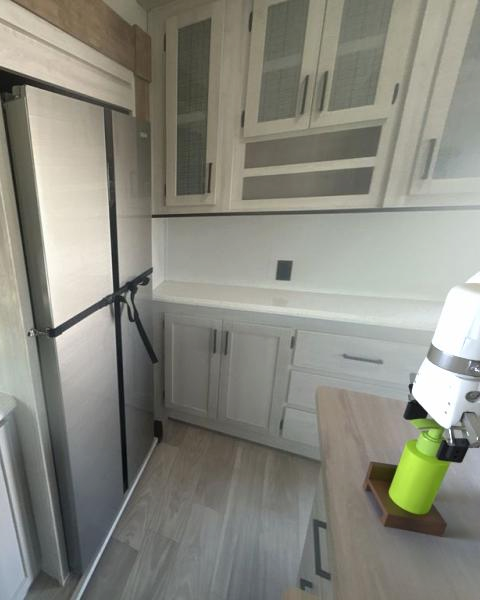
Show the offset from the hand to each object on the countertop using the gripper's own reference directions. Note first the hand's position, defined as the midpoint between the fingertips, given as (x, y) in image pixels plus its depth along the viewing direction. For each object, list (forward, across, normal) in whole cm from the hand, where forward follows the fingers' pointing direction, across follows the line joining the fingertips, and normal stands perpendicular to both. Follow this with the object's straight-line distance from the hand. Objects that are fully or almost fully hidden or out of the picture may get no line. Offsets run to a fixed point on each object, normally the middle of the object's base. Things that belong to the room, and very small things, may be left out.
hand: (429, 438), depth 60 cm
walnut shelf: (+21, 0, 0) cm, 21 cm away
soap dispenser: (+16, 0, 0) cm, 16 cm away
